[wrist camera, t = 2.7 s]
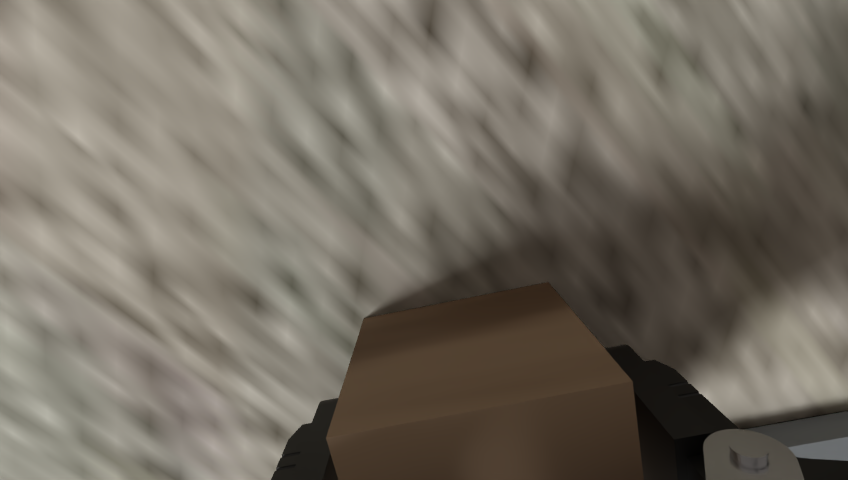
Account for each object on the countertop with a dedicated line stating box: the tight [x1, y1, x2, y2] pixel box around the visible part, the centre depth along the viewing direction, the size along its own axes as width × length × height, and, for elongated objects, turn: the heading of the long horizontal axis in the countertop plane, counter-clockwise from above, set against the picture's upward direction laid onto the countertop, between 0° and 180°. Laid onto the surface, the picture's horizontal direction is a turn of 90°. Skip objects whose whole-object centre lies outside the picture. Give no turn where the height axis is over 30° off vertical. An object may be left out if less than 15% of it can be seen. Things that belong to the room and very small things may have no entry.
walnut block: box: [326, 282, 644, 480], centre depth 10 cm, size 5×5×5 cm
